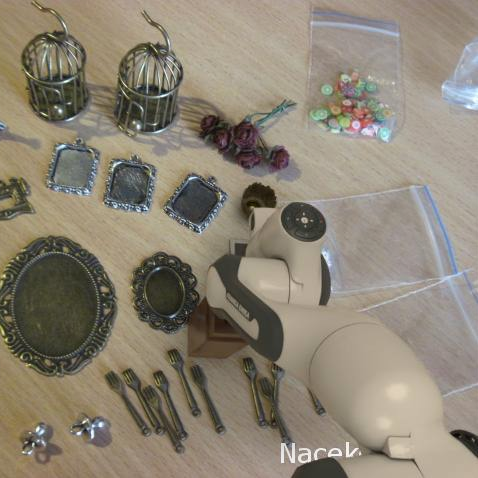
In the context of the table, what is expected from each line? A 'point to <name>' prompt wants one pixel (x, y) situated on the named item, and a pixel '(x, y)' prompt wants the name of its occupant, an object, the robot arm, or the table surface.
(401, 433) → the robot arm
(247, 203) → the cup
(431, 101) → the table surface
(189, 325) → the pen stand
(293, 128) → the table surface
